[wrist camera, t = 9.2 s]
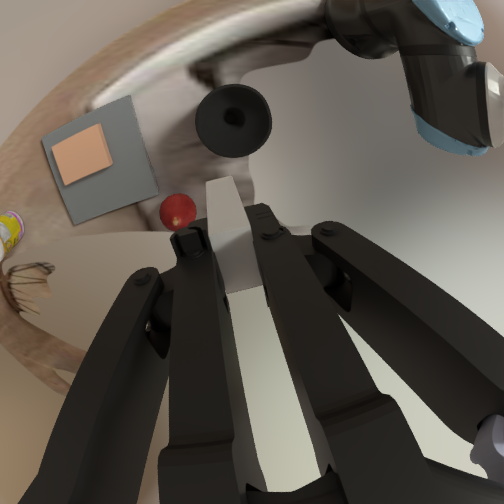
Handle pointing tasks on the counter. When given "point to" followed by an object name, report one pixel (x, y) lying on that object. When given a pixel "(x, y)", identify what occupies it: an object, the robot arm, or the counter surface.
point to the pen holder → (233, 121)
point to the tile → (82, 154)
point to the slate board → (114, 176)
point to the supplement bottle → (9, 232)
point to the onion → (177, 211)
